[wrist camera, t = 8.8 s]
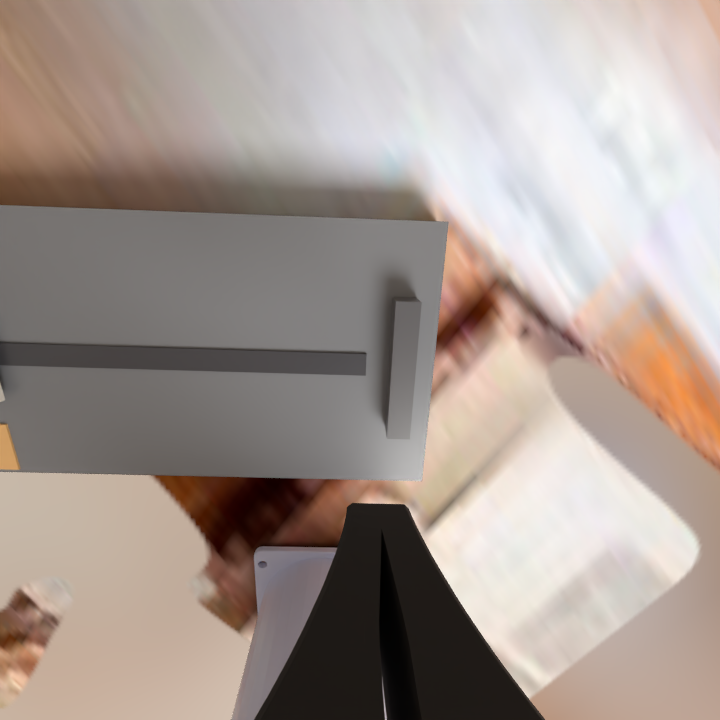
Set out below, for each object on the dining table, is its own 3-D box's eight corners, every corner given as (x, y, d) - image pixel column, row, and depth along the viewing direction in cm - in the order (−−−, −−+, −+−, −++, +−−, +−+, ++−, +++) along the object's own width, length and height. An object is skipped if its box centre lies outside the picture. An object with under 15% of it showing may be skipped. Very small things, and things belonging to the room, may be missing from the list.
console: (415, 458, 20) (426, 497, 17) (-112, 445, 19) (-199, 483, 16) (437, 224, 16) (456, 220, 13) (-213, 199, 16) (-350, 189, 13)
